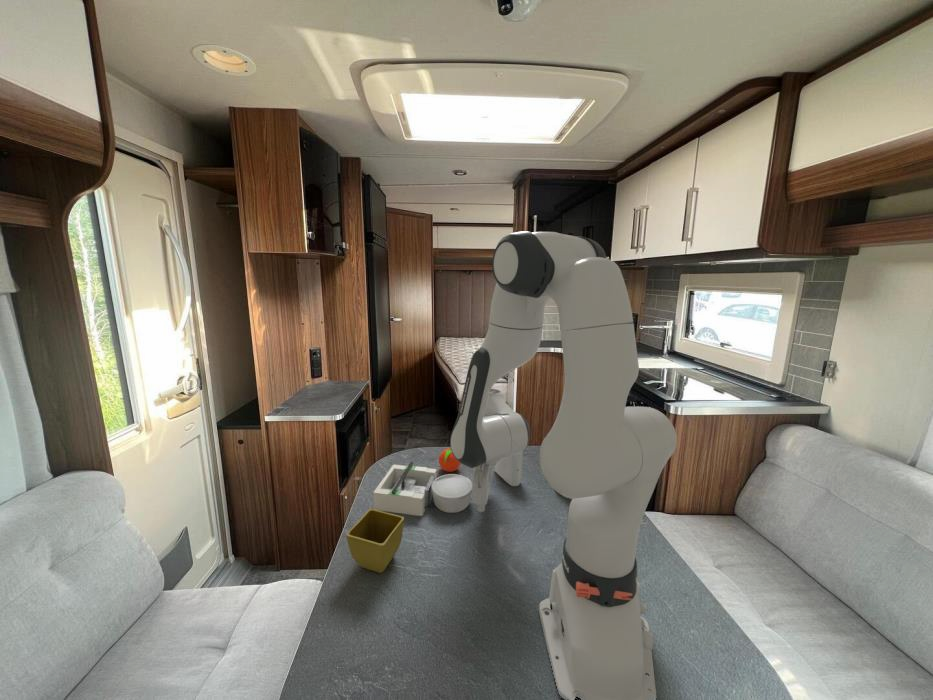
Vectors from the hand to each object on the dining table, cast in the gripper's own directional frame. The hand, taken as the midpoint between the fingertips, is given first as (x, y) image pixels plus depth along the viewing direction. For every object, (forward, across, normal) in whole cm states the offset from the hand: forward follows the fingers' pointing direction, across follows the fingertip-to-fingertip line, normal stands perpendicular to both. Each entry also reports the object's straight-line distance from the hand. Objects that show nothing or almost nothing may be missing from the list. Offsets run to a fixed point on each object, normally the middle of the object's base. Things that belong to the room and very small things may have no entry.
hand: (483, 498), depth 95 cm
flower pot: (+3, -22, +20) cm, 30 cm away
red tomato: (+3, +15, +12) cm, 20 cm away
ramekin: (+3, 0, +8) cm, 9 cm away
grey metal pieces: (+2, 0, +19) cm, 19 cm away
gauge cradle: (+2, +1, +21) cm, 21 cm away
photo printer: (+3, +15, -6) cm, 16 cm away
